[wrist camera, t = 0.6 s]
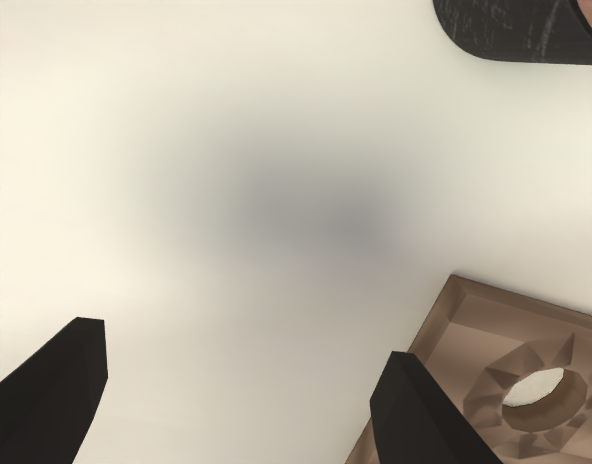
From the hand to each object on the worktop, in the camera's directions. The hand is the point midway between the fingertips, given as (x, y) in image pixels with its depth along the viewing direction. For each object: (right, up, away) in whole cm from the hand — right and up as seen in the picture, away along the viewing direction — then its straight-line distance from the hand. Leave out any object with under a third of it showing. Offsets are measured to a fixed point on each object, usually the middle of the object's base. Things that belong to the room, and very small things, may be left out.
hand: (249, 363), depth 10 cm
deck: (+15, -10, +17) cm, 25 cm away
